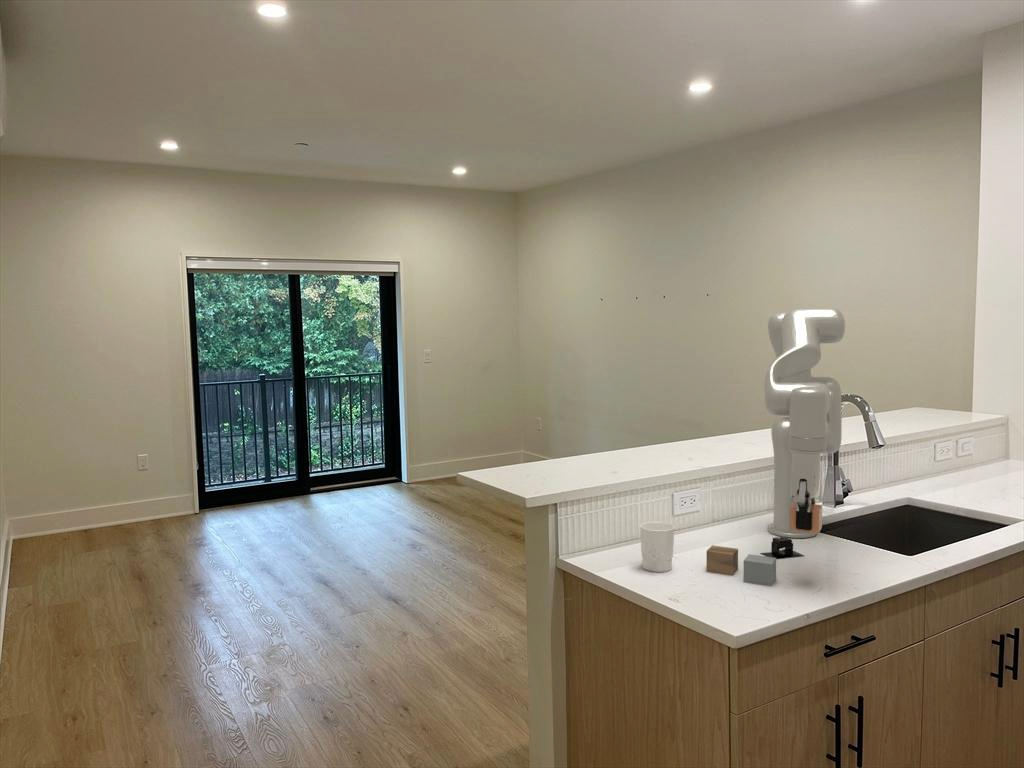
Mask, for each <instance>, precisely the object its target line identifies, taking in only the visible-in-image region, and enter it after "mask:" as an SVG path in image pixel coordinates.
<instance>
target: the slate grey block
mask: <svg viewBox="0 0 1024 768" xmlns="http://www.w3.org/2000/svg"><path fill="white" fill-rule="evenodd" d="M742 580H743V581H742V582H743V583H748V584H754V585H760V586H767V587H773V585H774V584H775V582H776V580H777V559H776V558H773V557H766V556H764V555H756V554H751V553H750V554H749V553H748V554H747V556H746V557H745V558H744V559H743V579H742Z"/></svg>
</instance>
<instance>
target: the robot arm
mask: <svg viewBox="0 0 1024 768" xmlns="http://www.w3.org/2000/svg"><path fill="white" fill-rule="evenodd" d="M767 331H768V335H769V341H770V344H771V346H772V348H773V351H774V353H775V357H776V358H775V359H774V360H773V361H772V362H771V364H770V365H769V367H768V368H767V370H766V373H765V377H764V405H765V407H766V410H767V412H768V413H769V414H771V415H773V416H779V417H780V418H777V419H776V420H774V421H773V422H772V424H771V429H770V430H771V440H772V441H771V442H772V448H773V449H772V451H773V459H774V460H773V466H774V467H773V470H774V471H773V482H774V483H773V522H771V523H769V524H767V527H766V528H767V531H768V533H770V534H772V535H775V536H779V537H787V538H789V539H791V538H792V539H802V538H803V539H806V538H807V539H808V538H812V537H815V536H816V535H817V534H818V533H811V532H803V531H795V530H789V520H790V506H791V505H792V503H793V502H797V510H796V529H801V530H809V531H810V530H811V529H812V512H811V504H816V495H817V494H818V492H819V489H820V477H821V454H834V453H837V452H838V451H839V450H840V448H841V445H842V428H843V427H842V423H843V422H842V391H841V390H842V389H841V385H840V383H839V381H838V380H837V379H835V378H834V377H831V376H812V369H813V368H814V367H816V366H817V365H818V363H820V361H821V357H822V351H821V344H836V343H839V342H841V341H842V340H843V338H844V336H845V332H846V322H845V317H844V315H843V313H842V312H841V310H840V309H838V308H836V307H799V308H794V309H791V310H789V311H781V312H776V313H774V314H772V315H771V316H770V317H769V318H768V323H767ZM781 416H783V417H781Z"/></svg>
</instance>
